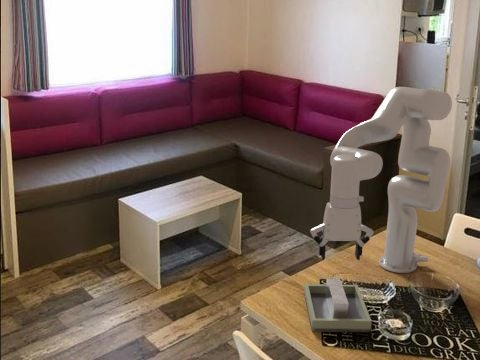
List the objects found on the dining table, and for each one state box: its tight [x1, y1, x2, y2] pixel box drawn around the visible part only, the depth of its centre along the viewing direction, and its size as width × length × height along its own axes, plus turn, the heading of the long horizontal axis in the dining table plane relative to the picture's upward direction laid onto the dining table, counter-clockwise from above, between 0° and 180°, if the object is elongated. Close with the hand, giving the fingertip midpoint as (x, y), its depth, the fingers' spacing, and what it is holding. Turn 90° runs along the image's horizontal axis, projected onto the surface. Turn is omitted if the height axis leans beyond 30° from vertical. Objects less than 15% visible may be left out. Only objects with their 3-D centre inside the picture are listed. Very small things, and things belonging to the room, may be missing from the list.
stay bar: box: [325, 278, 349, 319], centre depth 164 cm, size 4×14×6 cm, turn 0°
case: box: [303, 283, 372, 333], centre depth 165 cm, size 16×20×4 cm
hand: (340, 257), depth 160 cm, fingers open, 9 cm apart
